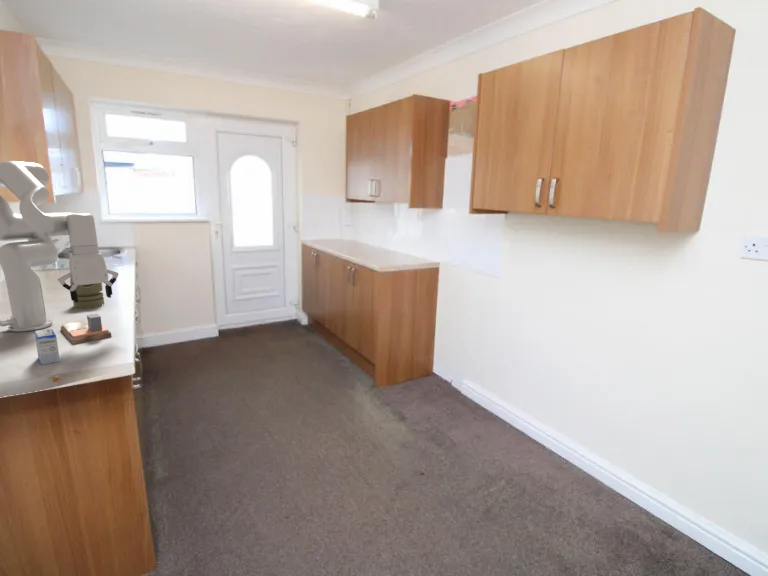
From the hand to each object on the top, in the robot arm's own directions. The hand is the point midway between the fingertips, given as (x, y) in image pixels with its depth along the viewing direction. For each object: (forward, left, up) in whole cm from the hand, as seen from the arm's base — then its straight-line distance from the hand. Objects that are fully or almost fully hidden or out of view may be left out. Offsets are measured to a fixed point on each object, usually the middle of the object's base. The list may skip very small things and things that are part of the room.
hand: (92, 299), depth 144 cm
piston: (+8, +51, -14) cm, 53 cm away
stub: (-2, +1, -12) cm, 12 cm away
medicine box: (-16, -15, -14) cm, 26 cm away
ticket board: (-2, +6, -13) cm, 15 cm away
